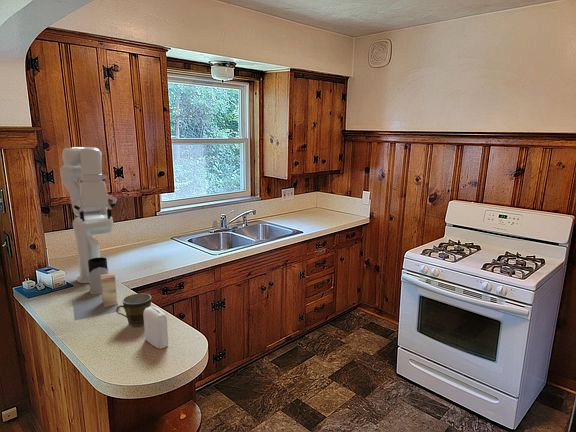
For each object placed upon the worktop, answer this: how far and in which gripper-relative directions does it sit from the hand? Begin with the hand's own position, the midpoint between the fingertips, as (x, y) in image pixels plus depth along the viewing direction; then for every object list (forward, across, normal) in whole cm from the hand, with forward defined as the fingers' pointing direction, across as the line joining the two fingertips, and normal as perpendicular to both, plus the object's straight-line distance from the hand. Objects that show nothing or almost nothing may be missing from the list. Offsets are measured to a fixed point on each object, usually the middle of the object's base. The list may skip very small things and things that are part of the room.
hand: (96, 219), depth 160 cm
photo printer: (+36, -13, +50) cm, 63 cm away
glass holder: (+34, +1, -11) cm, 36 cm away
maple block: (+34, -2, +9) cm, 35 cm away
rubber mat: (+35, +4, +9) cm, 36 cm away
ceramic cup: (+36, -8, +33) cm, 49 cm away
